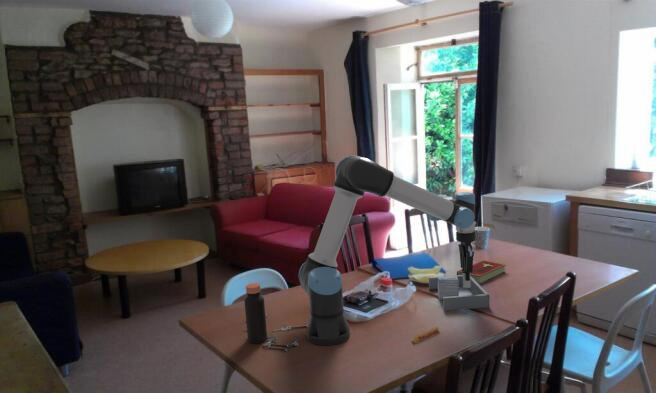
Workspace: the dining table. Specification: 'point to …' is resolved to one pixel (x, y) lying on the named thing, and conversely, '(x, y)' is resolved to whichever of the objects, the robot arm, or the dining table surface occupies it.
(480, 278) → the hardcover book
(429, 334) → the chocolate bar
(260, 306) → the bottle
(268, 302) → the dining table surface
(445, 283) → the medicine box
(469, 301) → the open box
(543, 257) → the dining table surface
